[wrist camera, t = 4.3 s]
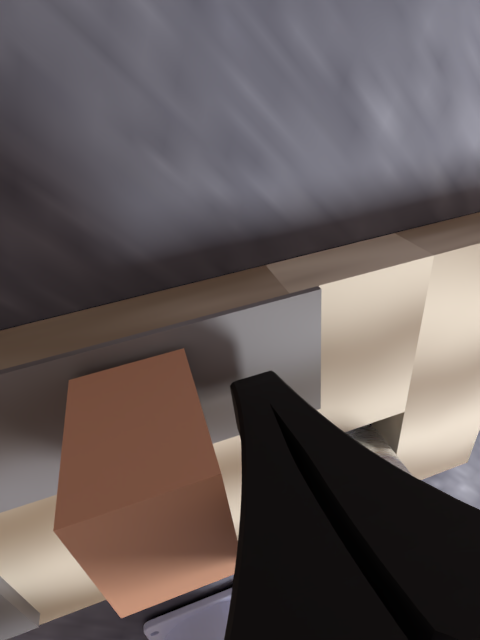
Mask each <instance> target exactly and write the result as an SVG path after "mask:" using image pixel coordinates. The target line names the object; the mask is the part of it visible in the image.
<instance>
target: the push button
mask: <svg viewBox="0 0 480 640" xmlns="http://www.w3.org/2000/svg"><path fill="white" fill-rule="evenodd" d="M345 433H347V434H348V435H349V436H351V437H352V438H353V439H355V440H356V441H358V442H359V443H361V444H362V445H363V446H365V447H366V448H368V449H369V450H371V451H372V452H374V453H376V454H377V455H379V456H380V457H382V458H383V459H385V460H387V461H388V462H390V463H391V464H393V465H395V466H397V467H398V468H400V469H402V470H403V471H405V472H407V473H408V474H410V475H412V474H411V473H410V472H409V471H408V469H407V468H406V467H405V465H404V464H403V463H402V461H401V460H400V459H399V458H398V456H397V455H396V454H395V452H394V451H393V450H392V448H391V447H390V446H389V445H388V443H387V442H386V441H385V439H384V438H383V437H382V435H381V434H380V433H379V431H377V430H376V429H375V428H373V427H370V426H362V427H359V428H356V429H353V430H350V431H347V432H345Z"/></svg>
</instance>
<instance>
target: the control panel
mask: <svg viewBox="0 0 480 640" xmlns="http://www.w3.org/2000/svg"><path fill="white" fill-rule="evenodd" d="M183 348H184V350H185V353H186V357H187V360H188V363H189V367H190V370H191V373H192V377H193V380H194V383H195V387H196V390H197V394H198V397H199V400H200V404H201V407H202V410H203V414H204V417H205V420H206V424H207V427H208V430H209V434H210V437H211V440H212V444H213V447H214V450H215V454H216V457H217V460H218V464H219V467H220V471H221V474H222V478H223V482H224V486H225V490H226V495H227V499H228V503H229V507H230V511H231V515H232V519H233V523H234V528H235V532H236V536H237V540H238V535H239V523H240V509H241V485H242V462H241V439H240V435H239V432H238V429H237V424H236V418H235V412H234V407H233V401H232V395H231V390H230V385H231V384H232V382H234V381H237V380H240V379H244V378H247V377H250V376H254V375H257V374H261V373H264V372H267V371H271V370H272V371H273V372H275V373H276V374H277V375H278V376H279V377H280V378H281V379H282V380H283V381H284V382H285V383H286V384H287V385H288V386H290V387H291V388H292V389H293V390H294V391H295V392H296V393H297V394H298V395H299V396H301V397H302V398H303V399H304V400H305V401H306V402H307V403H309V404H310V405H311V406H312V407H313V408H315V409H316V410H317V411H318V412H319V413H321V414H322V415H323V416H324V417H326V418H327V419H328V420H329V421H331V422H332V423H333V424H334V425H336V426H337V427H338V428H340V429H341V430H342V431H344V432H347V431H350V430H353V429H356V428H359V427H362V426H365V425H368V424H370V423H372V425H371V427H373V428H375V429H376V430H377V431H379V433H380V434H381V435H382V437H383V438H384V439H385V441H386V442H387V443H388V445H389V446H390V447H391V448H392V450H393V451H394V452H395V454H396V455H397V456H398V458H399V459H400V460H401V461H402V463H403V464H404V465H405V467H406V468H407V469H408V471H409V472H410V473H411V474H412V476H414V477H416V478H417V479H419V480H422V479H425V478H428V477H430V476H433V475H435V474H438V473H441V472H443V471H446V470H449V469H451V468H454V467H456V466H459V465H462V464H464V463H467V462H468V460H469V457H470V454H471V451H472V449H473V446H474V443H475V440H476V438H477V435H478V432H479V429H480V212H478V213H474V214H470V215H466V216H462V217H458V218H454V219H450V220H446V221H442V222H438V223H434V224H430V225H425V226H421V227H417V228H413V229H409V230H405V231H401V232H397V233H393V234H389V235H385V236H381V237H377V238H373V239H369V240H365V241H361V242H357V243H353V244H349V245H345V246H341V247H336V248H332V249H328V250H324V251H320V252H316V253H312V254H308V255H304V256H300V257H296V258H292V259H288V260H284V261H280V262H276V263H272V264H268V265H264V266H260V267H256V268H252V269H248V270H243V271H239V272H235V273H231V274H227V275H223V276H219V277H215V278H211V279H207V280H203V281H199V282H195V283H191V284H187V285H183V286H179V287H175V288H171V289H167V290H163V291H159V292H155V293H150V294H146V295H142V296H138V297H134V298H130V299H126V300H122V301H118V302H114V303H110V304H106V305H102V306H98V307H94V308H90V309H86V310H82V311H78V312H74V313H70V314H66V315H61V316H57V317H53V318H49V319H45V320H41V321H37V322H33V323H29V324H25V325H21V326H17V327H13V328H9V329H5V330H1V331H0V640H7V639H10V638H13V637H15V636H18V635H20V634H23V633H26V632H28V631H31V630H34V629H36V628H39V625H41V624H44V623H46V622H49V621H52V620H54V619H57V618H59V617H62V616H65V615H67V614H70V613H73V612H75V611H78V610H81V609H83V608H86V607H88V606H91V605H94V604H96V603H99V602H102V601H104V600H106V598H105V597H104V596H103V594H102V593H101V592H100V591H99V589H98V588H97V587H96V585H95V584H94V583H93V582H92V580H91V579H90V578H89V576H88V575H87V574H86V573H85V571H84V570H83V569H82V567H81V566H80V565H79V564H78V562H77V561H76V560H75V558H74V557H73V556H72V555H71V553H70V552H69V551H68V549H67V548H66V547H65V545H64V544H63V543H62V542H61V540H60V539H59V538H58V536H57V535H56V534H55V533H54V531H53V529H54V519H55V509H56V500H57V490H58V480H59V471H60V461H61V451H62V441H63V432H64V422H65V412H66V402H67V393H68V383H69V380H71V379H74V378H78V377H81V376H85V375H89V374H92V373H96V372H100V371H103V370H107V369H110V368H114V367H118V366H121V365H125V364H128V363H132V362H136V361H139V360H143V359H147V358H150V357H154V356H157V355H161V354H165V353H168V352H172V351H175V350H179V349H183Z"/></svg>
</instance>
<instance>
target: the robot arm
mask: <svg viewBox="0 0 480 640" xmlns="http://www.w3.org/2000/svg"><path fill="white" fill-rule="evenodd" d="M230 390H231V395H232V401H233V407H234V412H235V418H236V424H237V429H238V432H239V435H240V439H241V462H242V485H241V509H240V523H239V535H238V546H237V555H236V564H235V571H234V579H233V586H232V588H230V589H227V590H225V591H222V592H219V593H217V594H214V595H212V596H209V597H207V598H204V599H202V600H199V601H197V602H194V603H192V604H189V605H187V606H184V607H182V608H179V609H177V610H174V611H172V612H169V613H167V614H164V615H162V616H159V617H157V618H154V619H152V620H149V621H147V622H146V623H145V624H144V626H143V628H144V634H145V635H146V637H147V638H148V639H149V640H480V510H479V509H477V508H475V507H473V506H470V505H468V504H466V503H464V502H462V501H460V500H458V499H456V498H454V497H452V496H450V495H448V494H446V493H444V492H442V491H440V490H438V489H437V488H435V487H433V486H431V485H429V484H427V483H425V482H423V481H421V480H419V479H417V478H416V477H414V476H412V475H410V474H408V473H407V472H405V471H403V470H402V469H400V468H398V467H397V466H395V465H393V464H391V463H390V462H388V461H387V460H385V459H383V458H382V457H380V456H379V455H377V454H376V453H374V452H372V451H371V450H369V449H368V448H366V447H365V446H363V445H362V444H361V443H359V442H358V441H356V440H355V439H353V438H352V437H351V436H349V435H348V434H347V433H345V432H344V431H342V430H341V429H340V428H338V427H337V426H336V425H334V424H333V423H332V422H331V421H329V420H328V419H327V418H326V417H324V416H323V415H322V414H321V413H319V412H318V411H317V410H316V409H315V408H313V407H312V406H311V405H310V404H309V403H307V402H306V401H305V400H304V399H303V398H302V397H301V396H299V395H298V394H297V393H296V392H295V391H294V390H293V389H292V388H291V387H290V386H288V385H287V384H286V383H285V382H284V381H283V380H282V379H281V378H280V377H279V376H278V375H277V374H276V373H275V372H273V371H272V370H271V371H267V372H264V373H261V374H257V375H254V376H250V377H247V378H244V379H240V380H237V381H234V382H232V384H231V385H230Z"/></svg>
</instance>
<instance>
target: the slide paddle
mask: <svg viewBox="0 0 480 640" xmlns="http://www.w3.org/2000/svg"><path fill="white" fill-rule="evenodd" d="M53 531H54V533H55V534H56V535H57V536H58V538H59V539H60V540H61V542H62V543H63V544H64V545H65V547H66V548H67V549H68V551H69V552H70V553H71V555H72V556H73V557H74V558H75V560H76V561H77V562H78V564H79V565H80V566H81V567H82V569H83V570H84V571H85V573H86V574H87V575H88V576H89V578H90V579H91V580H92V582H93V583H94V584H95V585H96V587H97V588H98V589H99V591H100V592H101V593H102V594H103V596H104V597H105V598H106V600H107V601H108V602H109V603H110V605H111V606H112V607H113V609H114V610H115V611H116V612H117V614H118V615H119V616H120V618H124V617H126V616H129V615H131V614H134V613H136V612H139V611H141V610H144V609H147V608H149V607H152V606H154V605H157V604H159V603H162V602H164V601H167V600H170V599H172V598H175V597H177V596H180V595H182V594H185V593H187V592H190V591H193V590H195V589H198V588H200V587H203V586H205V585H208V584H210V583H213V582H216V581H218V580H221V579H223V578H226V577H228V576H231V575H233V574H234V571H235V564H236V555H237V546H238V540H237V536H236V532H235V528H234V523H233V519H232V515H231V511H230V507H229V503H228V499H227V495H226V490H225V486H224V482H223V478H222V474H221V471H220V467H219V464H218V460H217V457H216V454H215V450H214V447H213V444H212V440H211V437H210V434H209V430H208V427H207V424H206V420H205V417H204V414H203V410H202V407H201V404H200V400H199V397H198V394H197V390H196V387H195V383H194V380H193V377H192V373H191V370H190V367H189V363H188V360H187V357H186V353H185V350H184V348H183V349H179V350H175V351H172V352H168V353H165V354H161V355H157V356H154V357H150V358H147V359H143V360H139V361H136V362H132V363H128V364H125V365H121V366H118V367H114V368H110V369H107V370H103V371H100V372H96V373H92V374H89V375H85V376H81V377H78V378H74V379H71V380H69V383H68V393H67V402H66V412H65V422H64V432H63V441H62V451H61V461H60V471H59V480H58V490H57V500H56V509H55V519H54V529H53Z"/></svg>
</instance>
